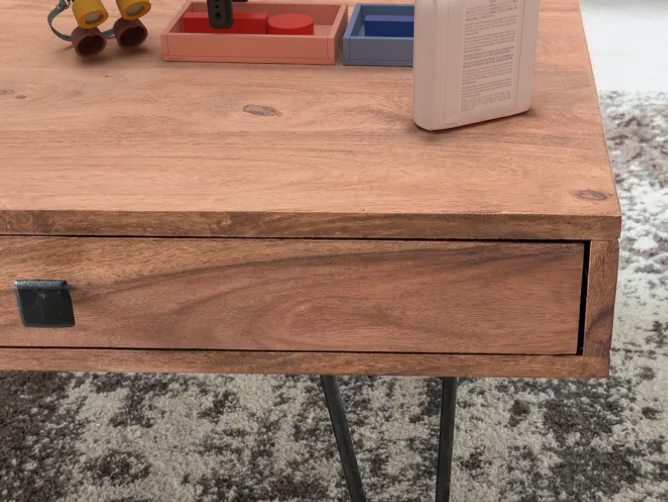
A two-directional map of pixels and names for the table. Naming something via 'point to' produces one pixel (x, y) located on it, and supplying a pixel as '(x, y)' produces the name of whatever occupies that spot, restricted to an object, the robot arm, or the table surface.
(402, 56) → the blue tray
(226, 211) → the table surface
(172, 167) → the table surface
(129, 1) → the binoculars
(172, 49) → the coral tray
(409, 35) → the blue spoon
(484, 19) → the white plastic bottle
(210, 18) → the robot arm
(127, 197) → the table surface
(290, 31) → the red spoon
